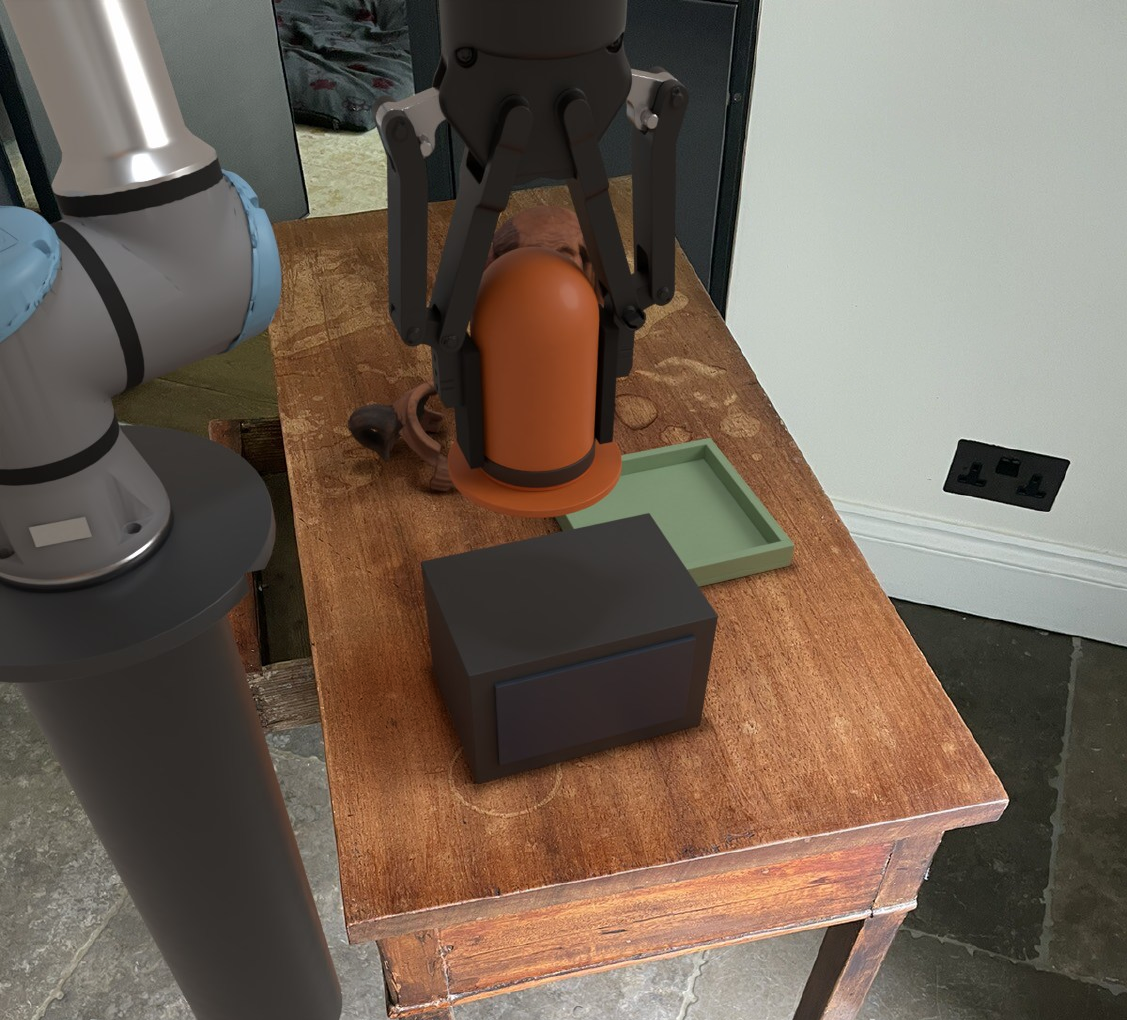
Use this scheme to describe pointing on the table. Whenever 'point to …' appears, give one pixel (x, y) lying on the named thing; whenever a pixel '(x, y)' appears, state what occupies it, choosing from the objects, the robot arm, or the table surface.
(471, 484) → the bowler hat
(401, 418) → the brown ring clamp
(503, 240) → the wooden figurine
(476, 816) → the table surface
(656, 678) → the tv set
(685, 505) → the tray
